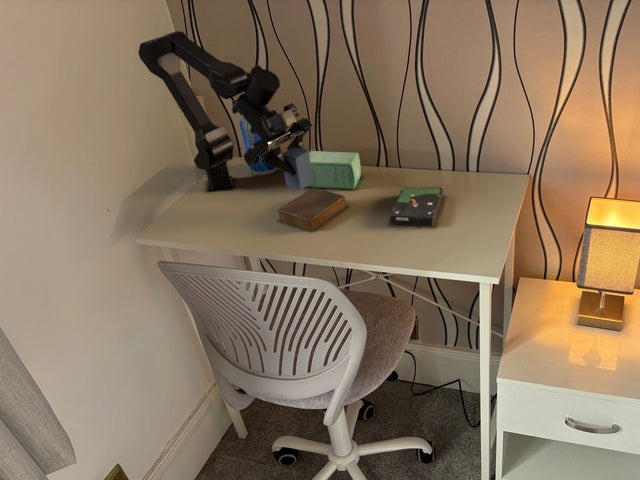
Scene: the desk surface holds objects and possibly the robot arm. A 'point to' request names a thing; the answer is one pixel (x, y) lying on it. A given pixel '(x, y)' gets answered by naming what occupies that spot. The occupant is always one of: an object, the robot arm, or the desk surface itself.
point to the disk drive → (417, 206)
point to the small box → (298, 168)
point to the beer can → (248, 140)
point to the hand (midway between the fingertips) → (301, 170)
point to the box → (334, 169)
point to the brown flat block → (312, 208)
